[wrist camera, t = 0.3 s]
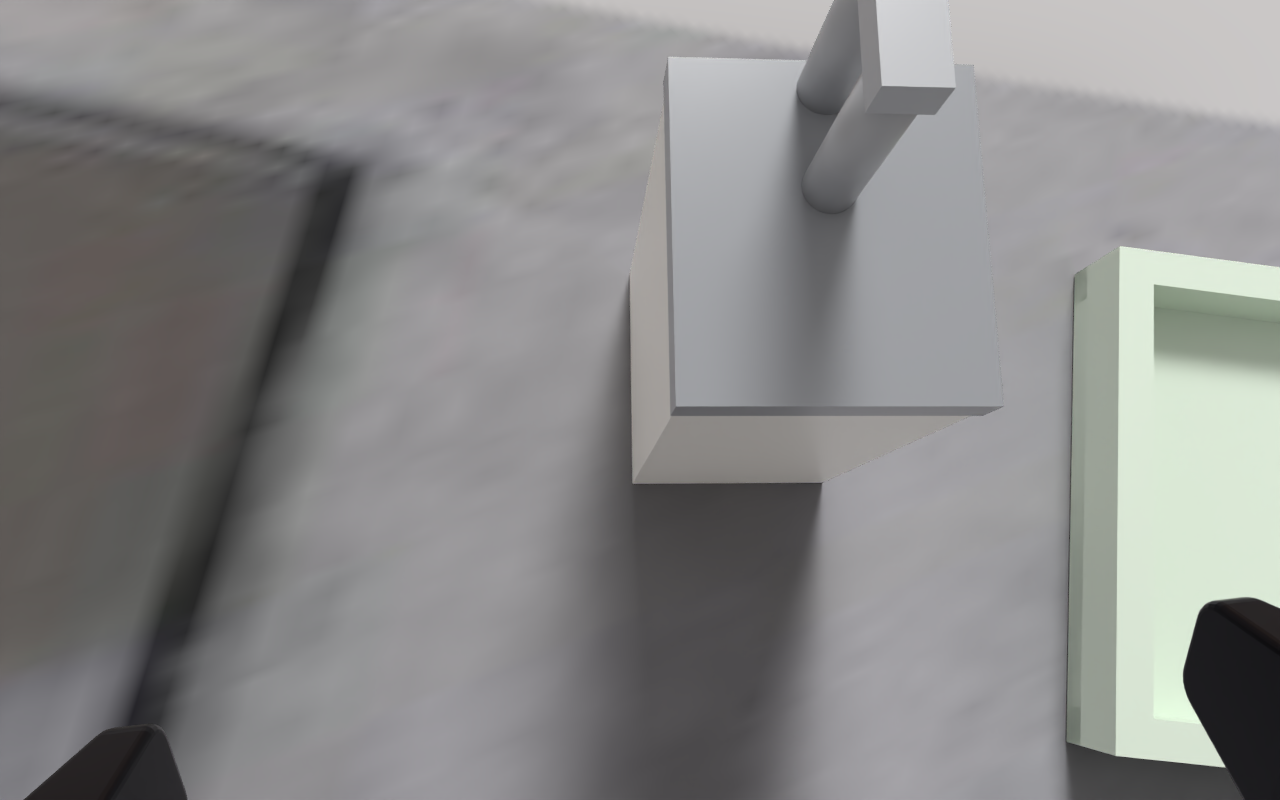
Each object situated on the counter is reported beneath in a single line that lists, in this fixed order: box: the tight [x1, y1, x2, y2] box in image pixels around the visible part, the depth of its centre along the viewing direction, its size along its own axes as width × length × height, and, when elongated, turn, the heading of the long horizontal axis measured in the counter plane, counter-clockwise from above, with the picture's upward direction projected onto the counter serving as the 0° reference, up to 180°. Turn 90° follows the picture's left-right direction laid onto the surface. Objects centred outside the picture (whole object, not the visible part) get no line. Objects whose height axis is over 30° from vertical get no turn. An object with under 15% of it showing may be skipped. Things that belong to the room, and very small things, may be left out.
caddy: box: [630, 0, 1004, 484], centre depth 17 cm, size 5×4×13 cm
